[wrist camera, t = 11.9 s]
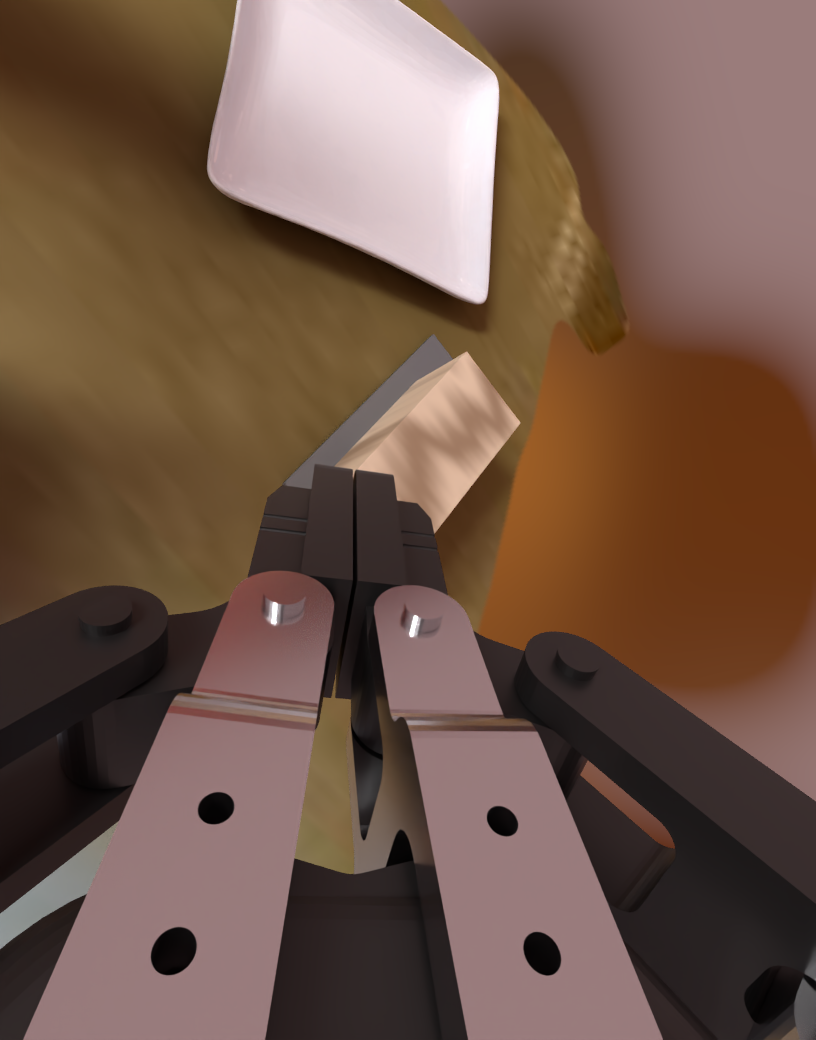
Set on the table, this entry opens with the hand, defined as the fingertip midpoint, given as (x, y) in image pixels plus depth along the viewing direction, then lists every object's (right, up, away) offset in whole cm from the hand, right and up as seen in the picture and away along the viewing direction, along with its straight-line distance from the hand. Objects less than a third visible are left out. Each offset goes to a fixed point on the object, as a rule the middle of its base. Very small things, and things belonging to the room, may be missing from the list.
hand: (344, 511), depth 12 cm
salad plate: (-3, +27, +33) cm, 43 cm away
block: (-3, -1, +24) cm, 24 cm away
